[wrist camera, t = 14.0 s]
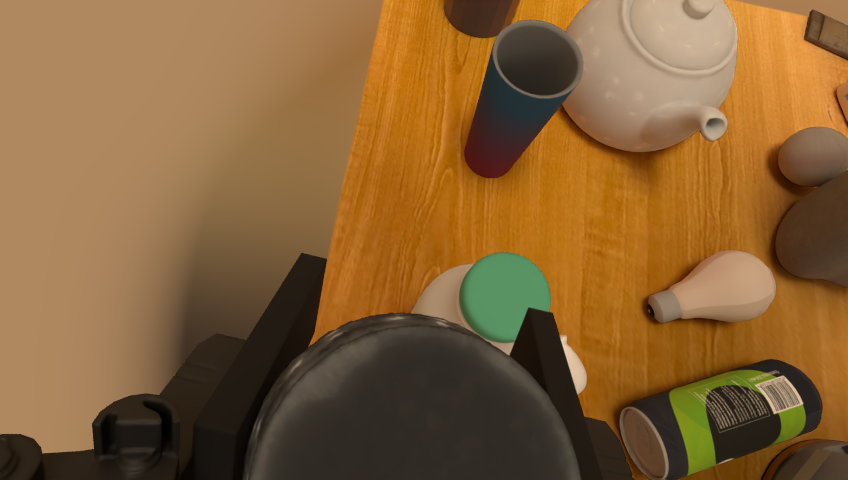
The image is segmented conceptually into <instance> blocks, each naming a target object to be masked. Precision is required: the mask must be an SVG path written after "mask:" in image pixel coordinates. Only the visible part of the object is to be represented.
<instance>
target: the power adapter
mask: <svg viewBox="0 0 848 480" xmlns="http://www.w3.org/2000/svg"><path fill="white" fill-rule="evenodd" d="M837 97H838V100H839V103H840V105H841V108H842V110H843V113H844V115H845V117H846V120H847V122H848V81H846V82H845V83H844V84H842V85H841V86H840V87H839V88H838V89H837Z"/></svg>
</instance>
